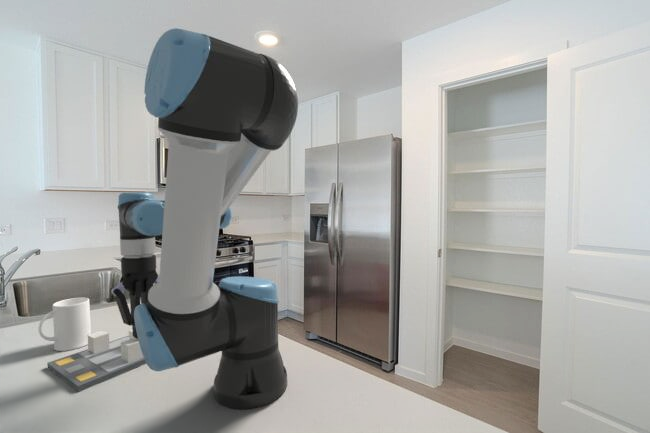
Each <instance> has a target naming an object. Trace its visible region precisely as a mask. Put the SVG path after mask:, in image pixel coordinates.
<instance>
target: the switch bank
mask: <svg viewBox="0 0 650 433" xmlns="http://www.w3.org/2000/svg"><path fill="white" fill-rule="evenodd" d="M126 340H129V335H126V336H123V337H121V338H118V339H114V340H111V341H109V347H110V348H109V349H106V350H103V351H101V352H98V353H95V354H94V353H92V352H90V351H89V350H88V348H87V349H84V350H80V351H79V352H76V353H73V354H70V355H67V356H64V357H61V358H57V359H54V360H51V361H48V362H47V366H46V367H47V369H49V370H50V371H51V372H53V373H54V374H55V375H56V376H58V378H59V379H61V380H63V381H64V382H65V383H66V384H67V385H69V386H70V387H72V388H73V389H74V390H75V391H77V392H82V391H84V390H86V389H87V390H88V389H89V388H91V387H94V386H96V385H98V384H100V383H102V382H105V381H107V380H110V379H112V378H114V377H118V376H120V375H122V374H124V373H127V372H129V371H132V370H134V369H136V368H137V369H138V368H139V367H142V366H144V365H147V363H146V361H145V359H144V357H141V358H139V359H136V360H134V361H131V362H127V361H125V360H123V359H121V342H124V341H126Z"/></svg>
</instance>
